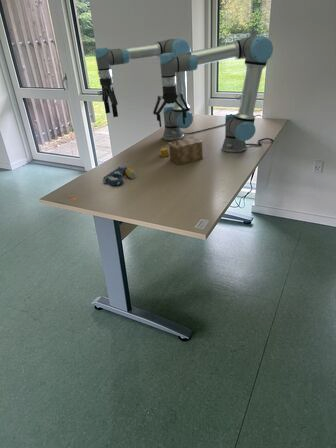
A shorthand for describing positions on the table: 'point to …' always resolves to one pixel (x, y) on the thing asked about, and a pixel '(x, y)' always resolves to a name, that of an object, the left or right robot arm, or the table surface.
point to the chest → (186, 154)
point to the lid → (183, 142)
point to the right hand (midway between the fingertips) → (172, 125)
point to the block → (164, 152)
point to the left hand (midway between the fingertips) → (111, 114)
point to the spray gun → (118, 175)
